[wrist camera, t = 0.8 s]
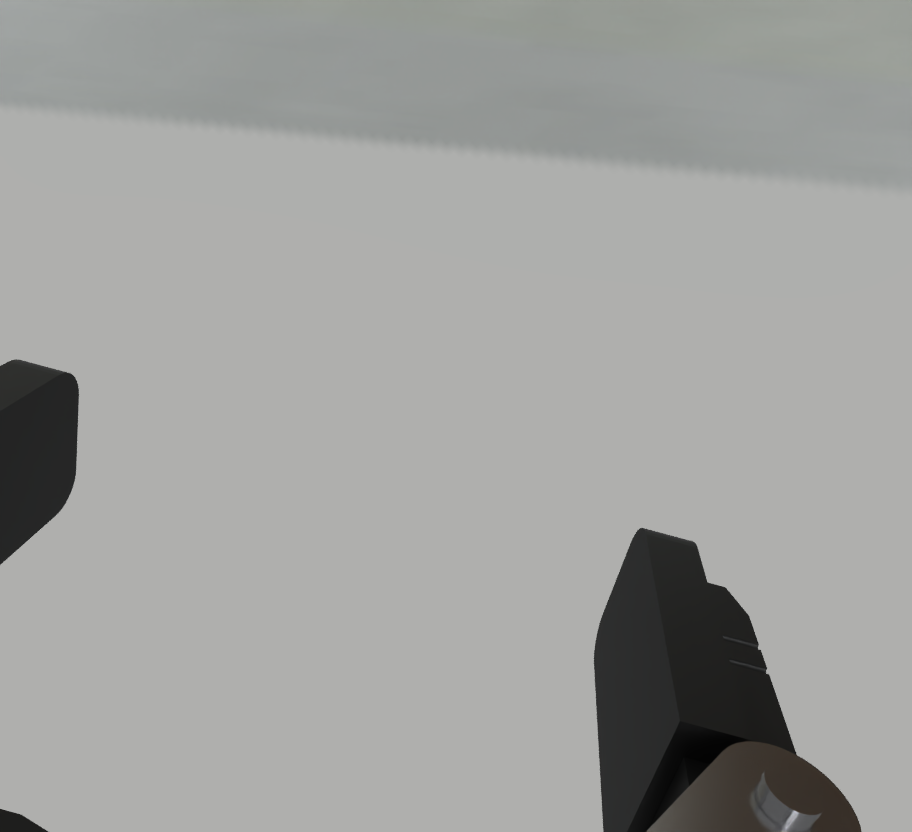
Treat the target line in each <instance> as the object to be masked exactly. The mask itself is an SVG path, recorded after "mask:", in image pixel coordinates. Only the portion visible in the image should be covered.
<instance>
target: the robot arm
mask: <svg viewBox="0 0 912 832" xmlns="http://www.w3.org/2000/svg"><path fill="white" fill-rule="evenodd" d="M78 399H79V389H78V384H77V381H76V379H75V377H74V376H73V375H72V374H70V373H67V372H63V371H59V370H56V369H52V368H48V367H44V366H40V365H37V364H33V363H29V362H26V361H22V360H12V361H9V362H7V363H6V364H3V365H1V366H0V564H2V563H3V561H5V560H6V559H7V558H8V557H9V556H11V555H12V554H13V553H14V552H15V551H16V550H17V549H19V548H20V547H21V546H22V545H23V544H24V543H25V542H26V541H28V540H29V539H30V538H31V537H32V536H33V535H34V534H35V533H37V532H38V531H39V530H40V529H41V528H42V527H43V526H44V525H45V524H47V523H48V522H49V521H50V520H51V519H52V518H53V517H55V516H56V515H57V513H59V511H60V510H61V509H62V508H63V506H64V505H65V503H66V501H67V499H68V497H69V495H70V493H71V490H72V488H73V484H74V481H75V475H76V457H77V427H78ZM594 669H595V687H596V706H597V722H598V741H599V758H600V776H601V794H602V812H603V829H604V832H861V827H860V824H859V821H858V819H857V816H856V814H855V812H854V810H853V808H852V806H851V805H850V804H849V802H848V801H847V799H846V798H845V796H844V795H843V794H842V792H841V791H840V790H839V789H838V788H837V787H836V786H835V784H834V783H832V781H831V780H830V779H828V778H827V777H826V776H825V775H824V774H823V773H822V772H820V771H819V770H818V769H817V768H816V767H814V766H813V765H811V764H810V763H808V762H807V761H805V760H804V759H802V758H800V757H799V756H797V755H796V752H795V749H794V746H793V743H792V740H791V737H790V734H789V731H788V728H787V726H786V723H785V720H784V717H783V714H782V711H781V708H780V705H779V702H778V699H777V697H776V693H775V690H774V688H773V685H772V682H771V679H770V676H769V675H768V674H766V669H767V667H766V664H765V661H764V658H763V655H762V653H761V650H758V641H757V638H756V635H755V632H754V629H753V626H752V623H751V621H750V618H749V616H748V614H747V613H746V612H745V611H744V609H743V608H742V607H741V606H740V605H739V603H738V602H737V601H736V600H735V599H734V597H733V596H732V595H731V594H730V592H729V591H728V590H727V589H726V588H725V587H722V586H718V585H714V584H711V583H707V580H706V576H705V572H704V569H703V566H702V562H701V558H700V555H699V552H698V548H697V545H696V544H695V543H694V542H693V541H689V540H685V539H681V538H678V537H674V536H670V535H666V534H663V533H659V532H655V531H652V530H648V529H644V528H640V529H639V530H638V531H637V532H636V534H635V535H634V537H633V539H632V542H631V544H630V547H629V549H628V552H627V554H626V557H625V559H624V562H623V564H622V567H621V569H620V572H619V575H618V577H617V580H616V582H615V585H614V587H613V590H612V593H611V595H610V597H609V600H608V602H607V605H606V608H605V610H604V613H603V615H602V618H601V621H600V625H599V629H598V633H597V638H596V644H595V651H594ZM0 832H48V831H46V830H45V829H43V828H42V827H40V826H38V825H37V824H35V823H33V822H32V821H30V820H29V819H27V818H26V817H24V816H22V815H20V814H17V813H13V812H9V811H6V810H2V809H0Z"/></svg>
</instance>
